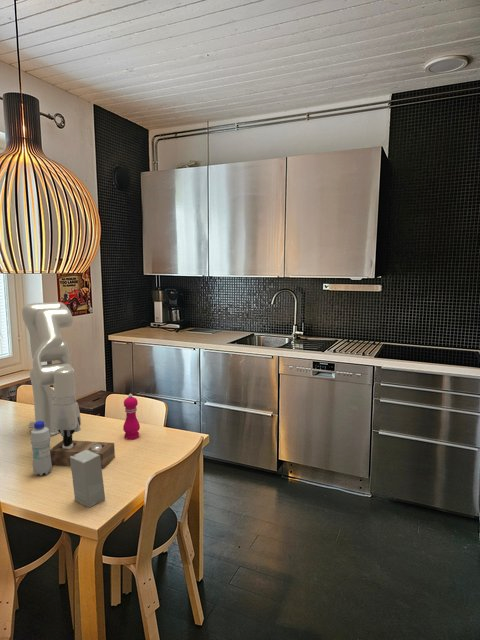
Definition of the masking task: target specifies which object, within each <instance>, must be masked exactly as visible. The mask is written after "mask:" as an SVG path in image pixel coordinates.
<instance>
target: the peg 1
mask: <svg viewBox="0 0 480 640" xmlns="http://www.w3.org/2000/svg"><path fill="white" fill-rule="evenodd" d="M62 447H63V448H66V449H71V448H72V447H73V443H72V444H71V445H69V446H64V444H63V445H62Z"/></svg>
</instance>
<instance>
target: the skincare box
mask: <svg viewBox="0 0 480 640" xmlns="http://www.w3.org/2000/svg"><path fill="white" fill-rule="evenodd" d="M70 463H71V467H70V470H71V478H72V485H73V486H72V487H73V493H74V494H73V495H74V501H75V502H78V503H79V504H81V505H83V506H84V507H87V508H91V507H93V506H95V505H97V504H98V503H101V502H104V501H105V500H106V496H105V494H106V493H105V487H104V478H103V469H102V468H101V459H100V455H98V454H96V453H94V452H91V451H89V450H85V451H82V452H80V453H78V454H75V455H73V456H70Z"/></svg>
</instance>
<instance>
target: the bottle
mask: <svg viewBox="0 0 480 640" xmlns="http://www.w3.org/2000/svg"><path fill="white" fill-rule="evenodd" d="M34 428H35V429H34ZM34 428H32V430H31V431H30V444H31V450H32V470H33V473H34V475H35V476H37V475H38V476H40V477H42V476H43V474H44V475H46V474H47V475H49V473H51V471H52V468H53V467H52V466H53V465H52V463H51V456H50V449H51V444H50V443H51V436H50V433H49V429H48V428H47V427H45V425H44V422H43V421H37V422H36V423H35V424H34ZM48 472H49V473H48Z"/></svg>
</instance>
